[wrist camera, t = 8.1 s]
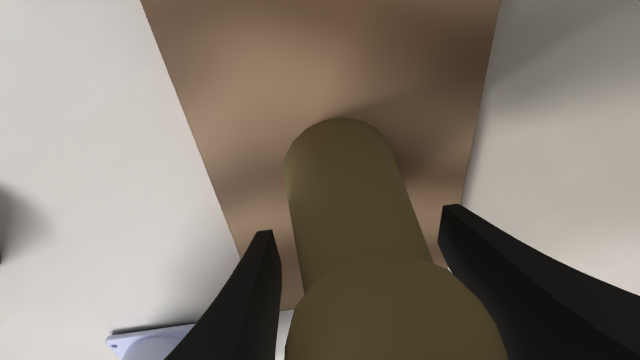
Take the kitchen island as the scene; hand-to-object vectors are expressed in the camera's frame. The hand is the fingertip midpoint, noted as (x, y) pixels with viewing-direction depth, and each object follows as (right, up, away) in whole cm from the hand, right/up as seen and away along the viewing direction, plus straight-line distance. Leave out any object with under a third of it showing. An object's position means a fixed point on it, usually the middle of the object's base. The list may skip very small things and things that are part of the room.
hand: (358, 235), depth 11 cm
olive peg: (-1, +3, +4) cm, 5 cm away
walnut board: (0, +3, +5) cm, 6 cm away
